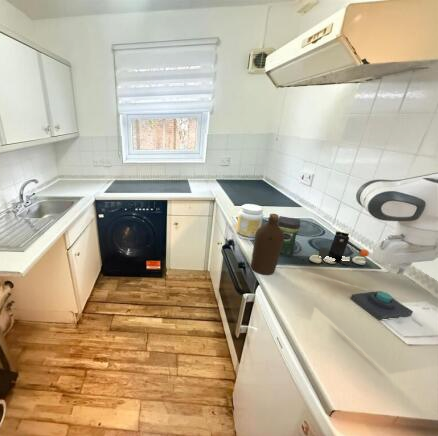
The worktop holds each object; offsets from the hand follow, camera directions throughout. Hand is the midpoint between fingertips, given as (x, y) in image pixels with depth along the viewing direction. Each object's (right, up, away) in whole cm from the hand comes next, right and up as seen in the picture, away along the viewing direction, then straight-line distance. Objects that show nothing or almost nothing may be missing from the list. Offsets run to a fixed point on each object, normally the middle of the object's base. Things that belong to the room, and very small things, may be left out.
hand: (396, 272), depth 75 cm
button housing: (0, -13, +6) cm, 14 cm away
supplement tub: (-24, +8, +56) cm, 61 cm away
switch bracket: (+7, -1, +34) cm, 34 cm away
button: (0, -10, +4) cm, 11 cm away
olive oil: (-30, -5, +27) cm, 40 cm away
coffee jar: (-15, 0, +38) cm, 41 cm away
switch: (+10, +4, +29) cm, 31 cm away
